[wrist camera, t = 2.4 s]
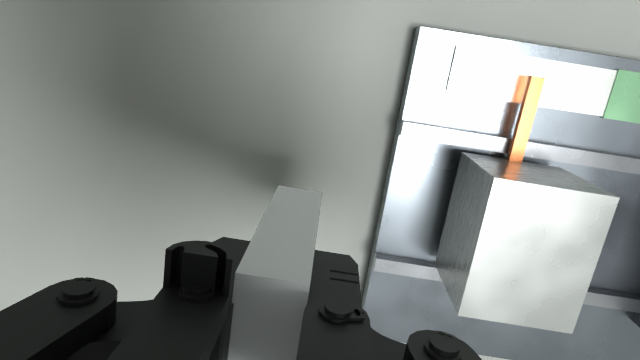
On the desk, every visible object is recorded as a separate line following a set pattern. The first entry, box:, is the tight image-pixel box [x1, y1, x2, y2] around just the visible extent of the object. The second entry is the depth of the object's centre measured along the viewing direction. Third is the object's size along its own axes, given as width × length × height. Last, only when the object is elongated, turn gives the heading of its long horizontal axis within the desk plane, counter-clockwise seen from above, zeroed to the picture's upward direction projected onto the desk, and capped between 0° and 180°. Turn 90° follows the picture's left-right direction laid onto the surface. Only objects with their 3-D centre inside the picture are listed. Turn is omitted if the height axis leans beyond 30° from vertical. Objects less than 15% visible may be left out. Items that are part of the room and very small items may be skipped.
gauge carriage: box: [435, 75, 620, 334], centre depth 16 cm, size 8×4×4 cm, turn 171°
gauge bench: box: [361, 26, 640, 360], centre depth 17 cm, size 14×14×7 cm
